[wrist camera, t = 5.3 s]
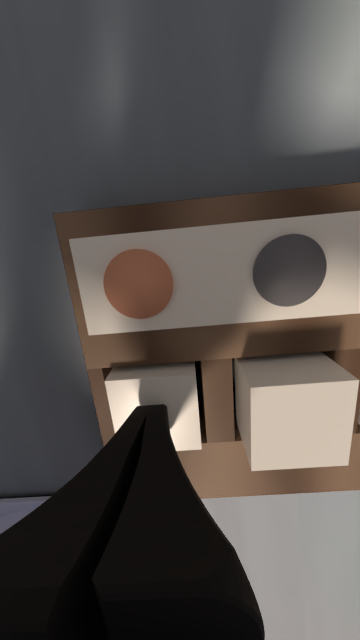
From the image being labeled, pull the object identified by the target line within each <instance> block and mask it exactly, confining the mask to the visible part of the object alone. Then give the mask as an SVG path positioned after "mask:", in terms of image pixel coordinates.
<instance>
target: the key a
mask: <svg viewBox="0 0 360 640" xmlns="http://www.w3.org/2000/svg"><path fill="white" fill-rule="evenodd" d="M105 386H106V391H107V396H108V401H109V406H110V411H111V416H112V421H113V426H114V431H115V433H116V432H117V431H118V429H119V428H120V427H121V426H122V424H123V423H124V422H125V421H126V419H127V418H128V417H129V415H130V414H131V413H132V411H133V410H134V409H135V408H136V407H137V406H145V405H159V404H165V405H166V406H167V410H168V418H169V426H170V434H171V437H172V441H173V443H174V446H175V449H176V451H185V450H201V449H202V446H201V434H200V421H199V409H198V397H197V384H196V372H195V362H194V361H190V362H177V363H164V364H150V365H137V366H124V367H113V368H112V370H111V371H110V373H109V375H108V376H107V378H106V380H105Z"/></svg>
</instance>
